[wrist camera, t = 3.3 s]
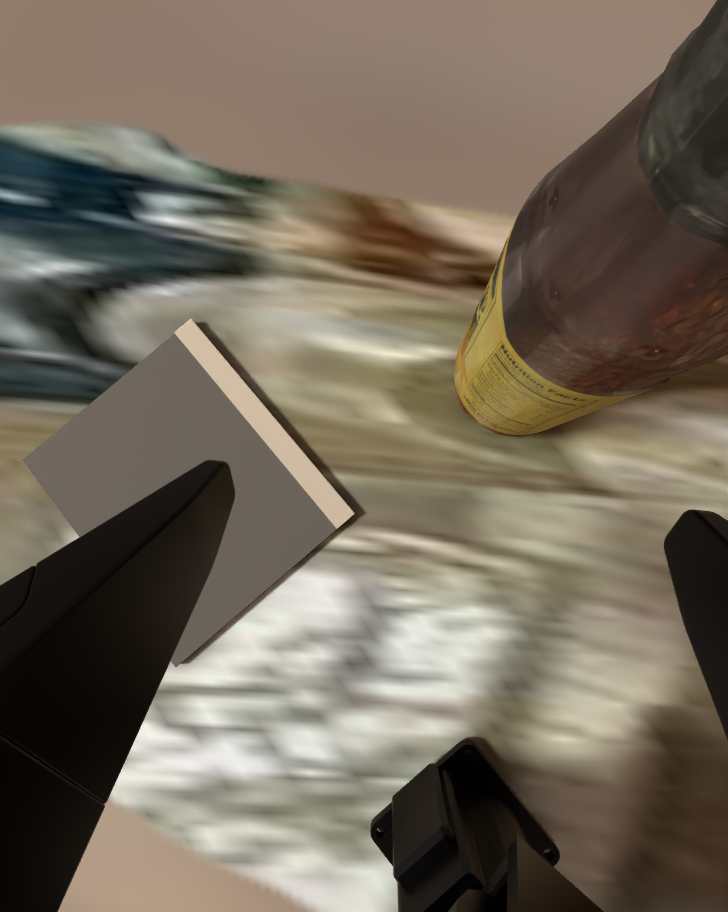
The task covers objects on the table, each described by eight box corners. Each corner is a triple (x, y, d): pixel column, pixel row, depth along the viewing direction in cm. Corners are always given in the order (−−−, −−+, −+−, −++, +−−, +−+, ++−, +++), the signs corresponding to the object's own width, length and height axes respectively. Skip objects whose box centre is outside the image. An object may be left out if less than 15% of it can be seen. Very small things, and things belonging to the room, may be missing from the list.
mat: (355, 513, 22) (354, 513, 21) (179, 664, 21) (174, 668, 21) (195, 322, 23) (190, 318, 23) (29, 460, 23) (21, 460, 22)
